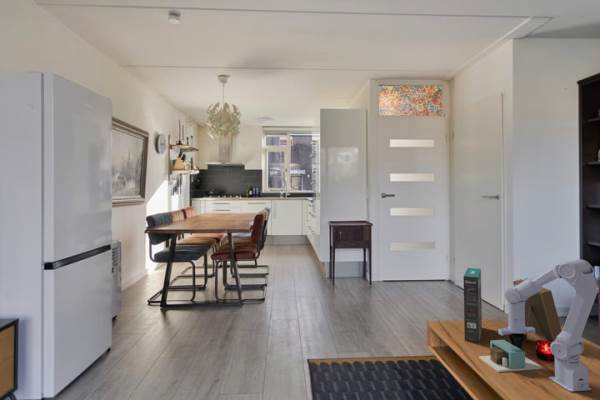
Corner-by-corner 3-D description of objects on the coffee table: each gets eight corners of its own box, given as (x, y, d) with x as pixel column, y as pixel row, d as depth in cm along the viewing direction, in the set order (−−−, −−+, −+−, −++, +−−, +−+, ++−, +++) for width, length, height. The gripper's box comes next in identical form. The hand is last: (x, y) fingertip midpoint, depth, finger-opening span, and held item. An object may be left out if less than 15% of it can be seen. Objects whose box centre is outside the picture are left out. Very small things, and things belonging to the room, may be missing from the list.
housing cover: (525, 367, 137) (524, 351, 137) (510, 368, 136) (510, 352, 136) (503, 354, 149) (503, 339, 149) (490, 355, 148) (490, 340, 148)
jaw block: (506, 363, 141) (506, 351, 141) (496, 364, 140) (496, 351, 140) (499, 359, 145) (499, 346, 145) (490, 359, 144) (490, 347, 144)
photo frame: (534, 328, 178) (532, 278, 178) (565, 347, 157) (564, 290, 157) (504, 329, 179) (502, 279, 179) (531, 347, 157) (529, 291, 157)
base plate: (541, 368, 138) (541, 358, 138) (498, 372, 136) (498, 361, 136) (519, 355, 150) (519, 345, 150) (479, 358, 148) (478, 348, 148)
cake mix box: (479, 343, 163) (477, 277, 163) (464, 340, 166) (463, 276, 166) (481, 327, 182) (480, 268, 182) (468, 325, 185) (467, 267, 185)
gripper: (525, 313, 148) (526, 346, 148) (493, 315, 146) (493, 348, 146) (539, 319, 141) (539, 353, 141) (504, 321, 139) (505, 356, 139)
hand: (517, 351), depth 143 cm, fingers closed
